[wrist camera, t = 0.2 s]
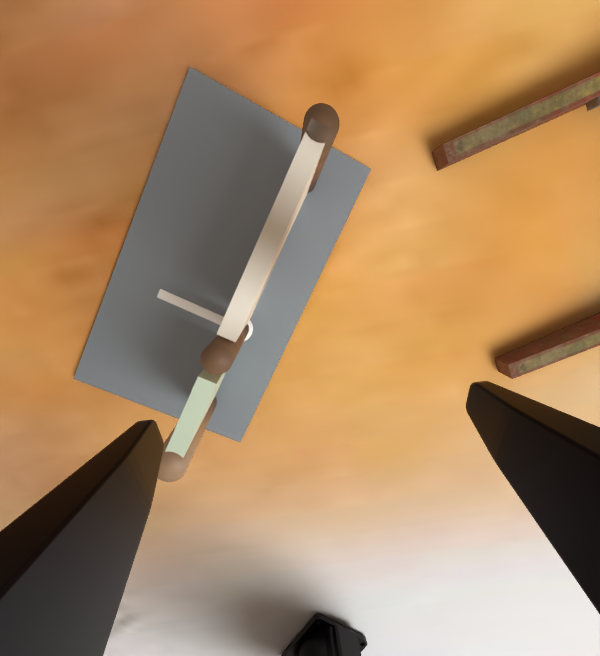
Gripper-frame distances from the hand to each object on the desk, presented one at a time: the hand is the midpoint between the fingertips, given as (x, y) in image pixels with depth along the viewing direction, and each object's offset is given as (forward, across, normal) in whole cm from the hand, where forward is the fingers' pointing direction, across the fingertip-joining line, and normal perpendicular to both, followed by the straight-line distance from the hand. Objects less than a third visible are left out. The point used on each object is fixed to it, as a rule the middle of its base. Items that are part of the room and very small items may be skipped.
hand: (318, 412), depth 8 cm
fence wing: (+13, +6, +7) cm, 16 cm away
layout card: (+16, +5, 0) cm, 17 cm away
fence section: (+16, +1, -1) cm, 16 cm away
